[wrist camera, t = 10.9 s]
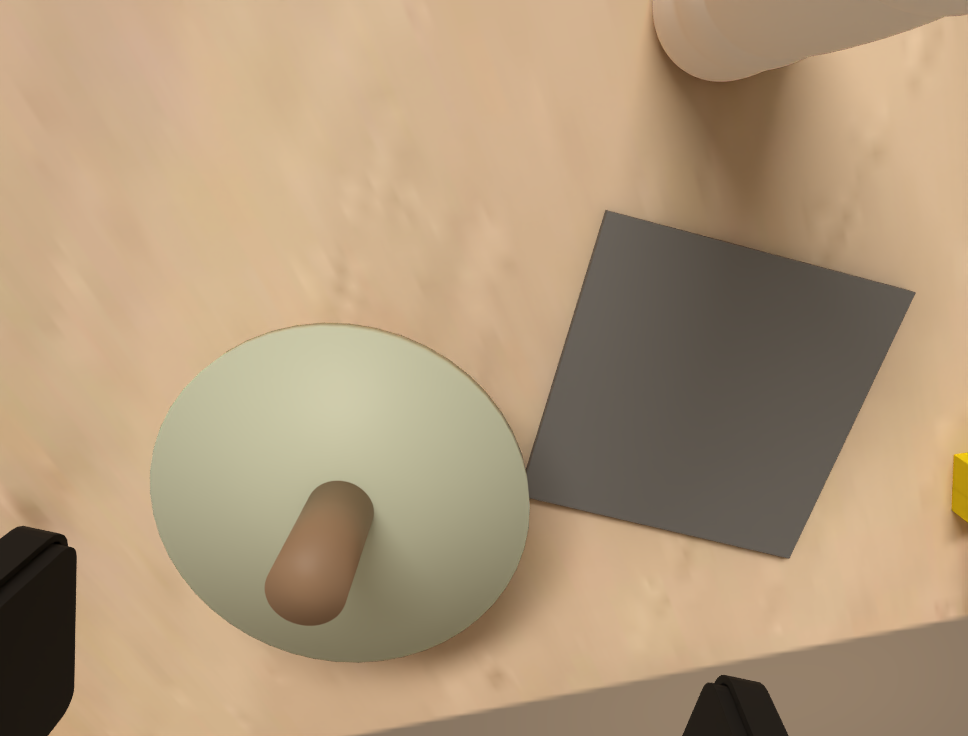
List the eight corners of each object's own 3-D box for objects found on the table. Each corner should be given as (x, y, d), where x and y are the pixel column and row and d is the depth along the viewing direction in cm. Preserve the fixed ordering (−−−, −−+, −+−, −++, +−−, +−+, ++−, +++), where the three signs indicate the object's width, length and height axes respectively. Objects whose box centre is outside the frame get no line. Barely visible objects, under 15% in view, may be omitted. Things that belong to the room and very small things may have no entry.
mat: (908, 290, 35) (915, 292, 34) (785, 552, 40) (789, 558, 40) (605, 209, 34) (607, 211, 33) (519, 490, 39) (519, 495, 39)
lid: (572, 372, 29) (593, 435, 23) (482, 679, 35) (479, 799, 29) (172, 282, 28) (78, 321, 22) (146, 614, 34) (65, 722, 28)
